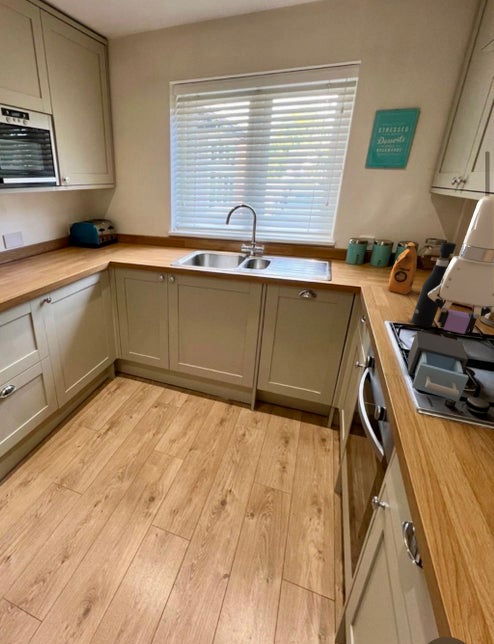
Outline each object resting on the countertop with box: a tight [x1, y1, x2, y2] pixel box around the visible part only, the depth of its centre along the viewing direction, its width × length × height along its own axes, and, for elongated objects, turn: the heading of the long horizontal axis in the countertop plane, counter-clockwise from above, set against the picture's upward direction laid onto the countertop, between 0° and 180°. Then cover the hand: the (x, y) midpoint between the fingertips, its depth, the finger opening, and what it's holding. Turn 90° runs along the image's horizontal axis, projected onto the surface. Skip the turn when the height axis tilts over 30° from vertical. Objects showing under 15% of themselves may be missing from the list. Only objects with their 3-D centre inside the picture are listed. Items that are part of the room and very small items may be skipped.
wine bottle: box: [410, 241, 457, 329], centre depth 116 cm, size 6×6×30 cm
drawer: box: [411, 351, 469, 402], centre depth 82 cm, size 15×9×7 cm, turn 148°
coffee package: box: [387, 241, 418, 295], centre depth 152 cm, size 10×12×22 cm
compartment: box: [407, 330, 469, 377], centre depth 91 cm, size 12×11×9 cm
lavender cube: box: [442, 308, 470, 335], centre depth 79 cm, size 4×4×4 cm
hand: (453, 327), depth 80 cm, fingers closed on lavender cube, 4 cm apart
